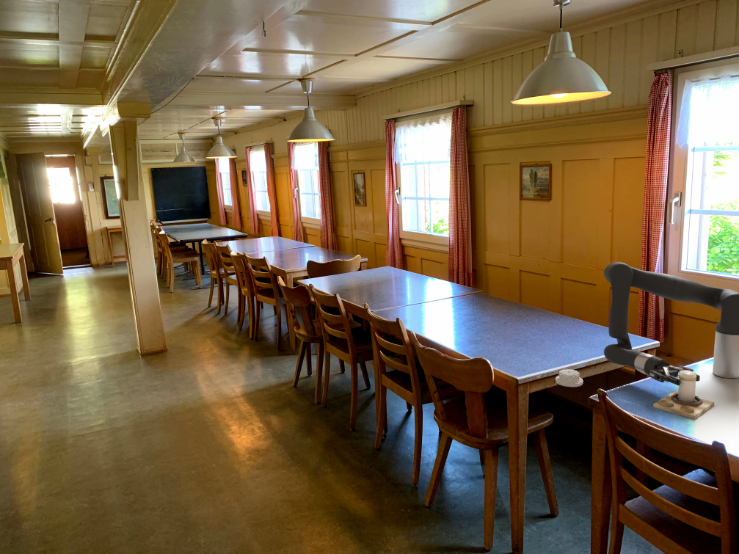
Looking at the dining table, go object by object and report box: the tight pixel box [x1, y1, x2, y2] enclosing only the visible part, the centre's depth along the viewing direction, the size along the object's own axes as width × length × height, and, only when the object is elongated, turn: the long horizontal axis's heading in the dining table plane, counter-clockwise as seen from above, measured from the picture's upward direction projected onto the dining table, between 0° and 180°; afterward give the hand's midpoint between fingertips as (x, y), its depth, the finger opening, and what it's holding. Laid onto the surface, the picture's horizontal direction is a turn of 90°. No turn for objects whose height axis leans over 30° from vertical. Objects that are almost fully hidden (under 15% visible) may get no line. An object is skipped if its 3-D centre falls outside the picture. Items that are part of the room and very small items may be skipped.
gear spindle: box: [677, 370, 697, 403], centre depth 183 cm, size 5×5×10 cm
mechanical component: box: [555, 368, 584, 388], centre depth 208 cm, size 10×4×10 cm
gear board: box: [652, 390, 715, 420], centre depth 183 cm, size 16×13×2 cm
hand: (689, 380), depth 182 cm, fingers open, 8 cm apart
